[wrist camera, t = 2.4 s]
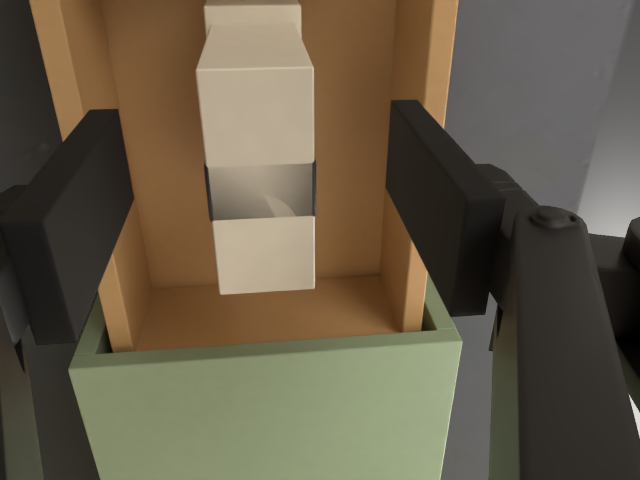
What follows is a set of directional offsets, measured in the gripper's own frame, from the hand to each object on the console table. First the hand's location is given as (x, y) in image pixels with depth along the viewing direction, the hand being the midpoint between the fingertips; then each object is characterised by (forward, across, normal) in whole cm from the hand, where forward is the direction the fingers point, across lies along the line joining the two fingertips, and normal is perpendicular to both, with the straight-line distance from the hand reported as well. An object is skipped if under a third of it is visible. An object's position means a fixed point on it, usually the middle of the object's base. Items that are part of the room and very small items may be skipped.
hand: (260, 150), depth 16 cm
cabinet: (+8, 0, -17) cm, 19 cm away
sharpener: (+6, 0, 0) cm, 6 cm away
